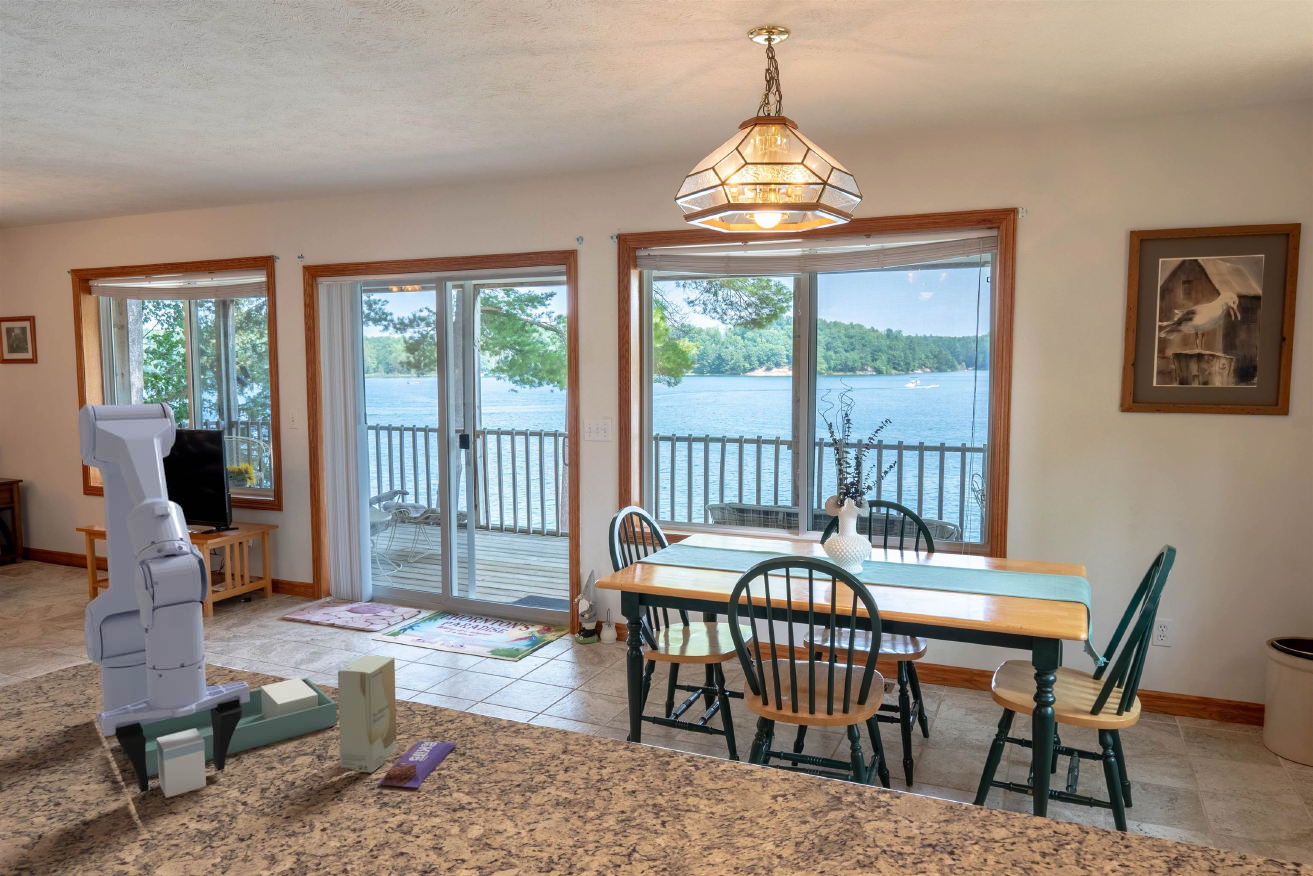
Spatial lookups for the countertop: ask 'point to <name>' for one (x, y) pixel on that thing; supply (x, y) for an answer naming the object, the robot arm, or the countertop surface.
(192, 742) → the milk carton
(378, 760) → the skincare box
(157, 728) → the tray
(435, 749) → the snack package
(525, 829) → the countertop surface
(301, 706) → the white box
